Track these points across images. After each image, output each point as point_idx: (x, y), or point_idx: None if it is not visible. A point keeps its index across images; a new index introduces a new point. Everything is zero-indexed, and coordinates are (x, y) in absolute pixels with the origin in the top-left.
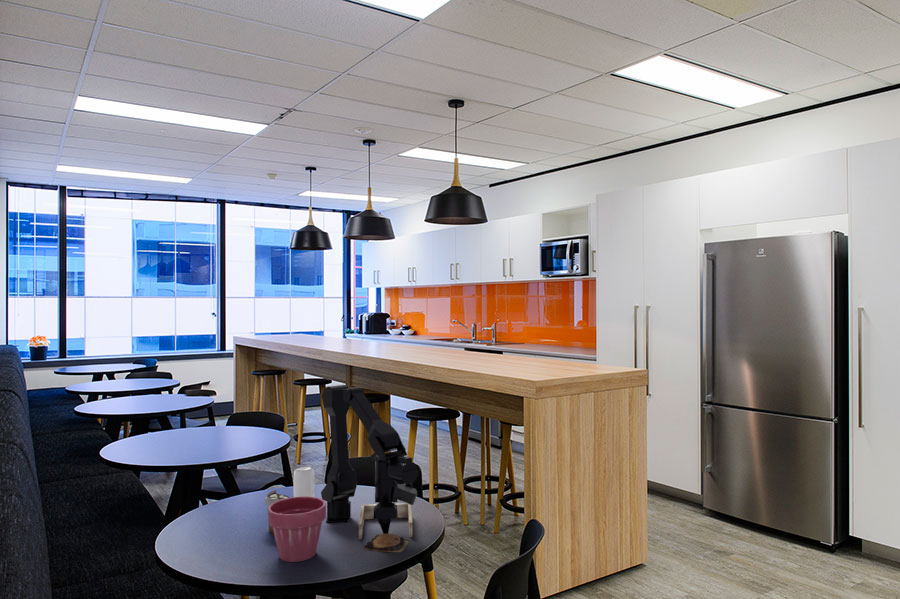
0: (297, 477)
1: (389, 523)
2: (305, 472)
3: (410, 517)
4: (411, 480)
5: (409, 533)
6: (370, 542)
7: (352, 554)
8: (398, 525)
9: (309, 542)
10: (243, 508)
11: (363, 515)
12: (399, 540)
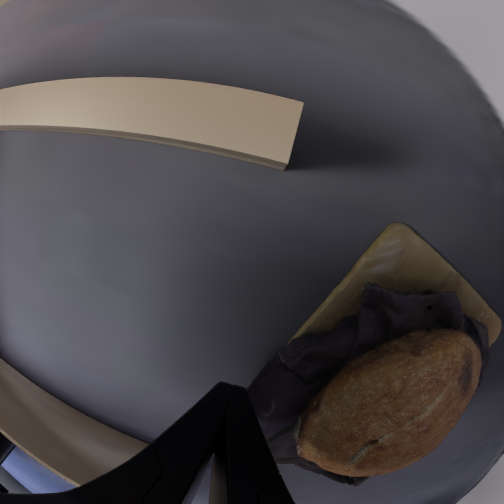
0: None
1: (278, 480)
2: None
3: (46, 103)
4: None
5: (257, 163)
6: (362, 481)
7: (368, 492)
8: (18, 204)
9: None
10: (14, 471)
11: (2, 409)
12: (467, 344)
